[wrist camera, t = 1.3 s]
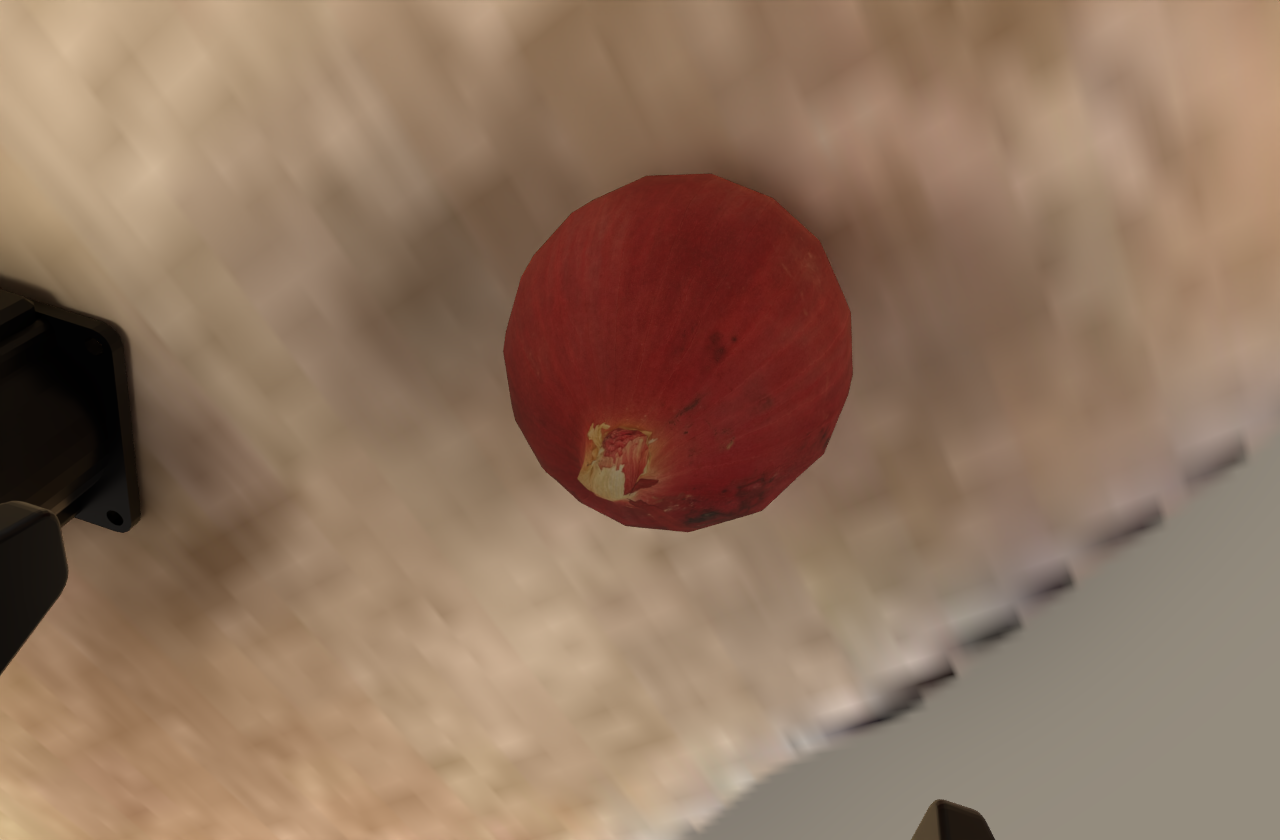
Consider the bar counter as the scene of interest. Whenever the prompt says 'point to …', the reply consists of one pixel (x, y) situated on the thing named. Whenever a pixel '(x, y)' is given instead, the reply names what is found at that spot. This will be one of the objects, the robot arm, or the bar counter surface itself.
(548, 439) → the onion
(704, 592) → the bar counter surface
